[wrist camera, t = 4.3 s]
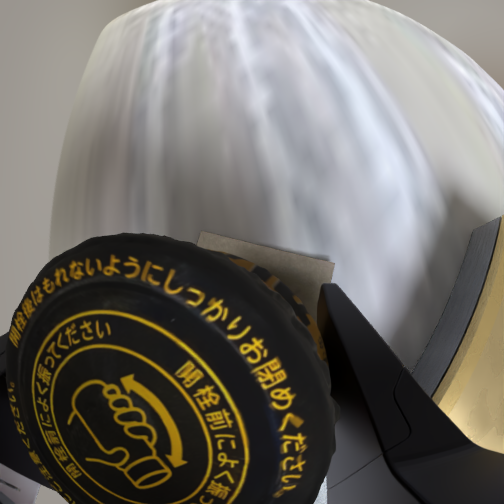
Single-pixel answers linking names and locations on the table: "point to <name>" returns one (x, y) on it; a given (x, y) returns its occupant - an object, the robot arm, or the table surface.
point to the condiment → (174, 373)
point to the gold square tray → (472, 344)
